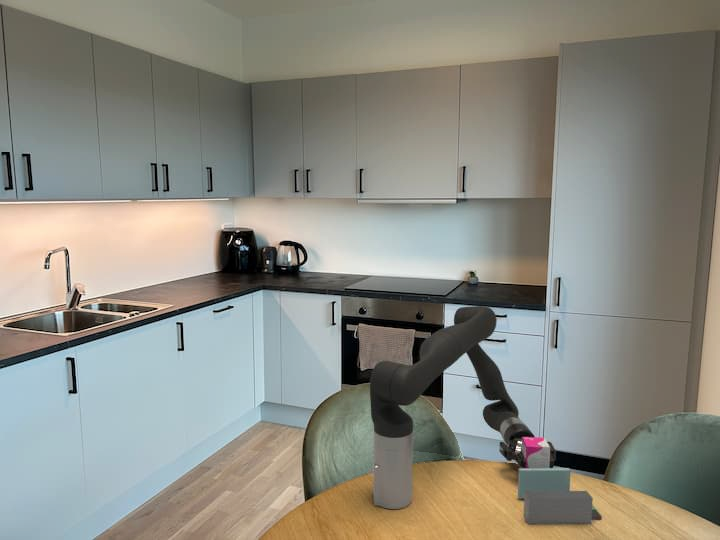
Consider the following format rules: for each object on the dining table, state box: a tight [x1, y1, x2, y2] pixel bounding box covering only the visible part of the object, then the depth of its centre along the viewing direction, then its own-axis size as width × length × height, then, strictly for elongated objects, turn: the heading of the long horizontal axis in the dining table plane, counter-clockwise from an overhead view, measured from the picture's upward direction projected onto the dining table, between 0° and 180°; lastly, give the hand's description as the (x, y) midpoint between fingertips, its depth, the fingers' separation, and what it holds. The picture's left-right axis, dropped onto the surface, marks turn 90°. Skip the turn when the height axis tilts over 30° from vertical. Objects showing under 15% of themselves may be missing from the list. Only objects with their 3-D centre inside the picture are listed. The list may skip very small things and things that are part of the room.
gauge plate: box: [517, 467, 571, 500], centre depth 125 cm, size 16×1×7 cm, turn 91°
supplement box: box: [520, 436, 550, 468], centre depth 132 cm, size 6×6×12 cm
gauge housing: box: [523, 490, 603, 525], centre depth 121 cm, size 17×10×6 cm, turn 91°
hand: (538, 464), depth 129 cm, fingers closed on supplement box, 6 cm apart
